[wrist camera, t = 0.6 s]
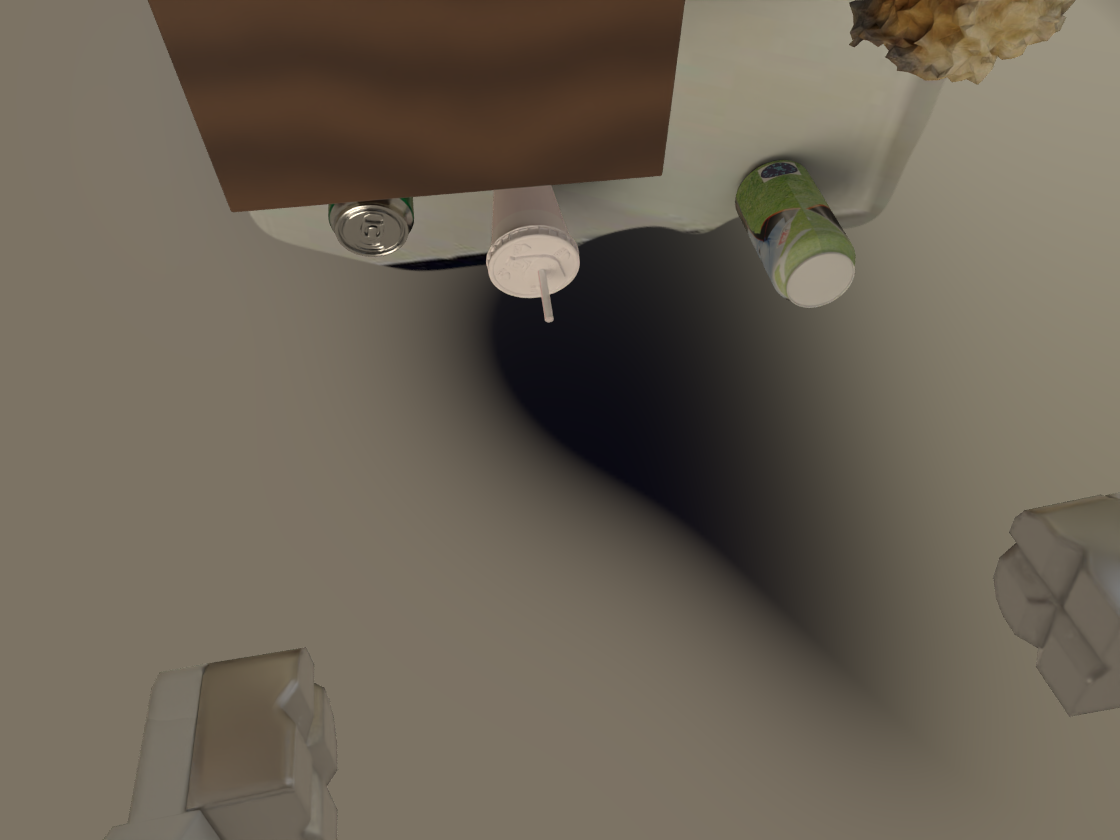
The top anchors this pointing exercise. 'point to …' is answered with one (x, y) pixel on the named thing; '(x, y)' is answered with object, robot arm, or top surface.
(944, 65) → the plaid cloth bag
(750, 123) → the top surface
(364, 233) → the soda can
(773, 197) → the beverage can
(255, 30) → the cupboard
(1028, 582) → the robot arm
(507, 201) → the smoothie
